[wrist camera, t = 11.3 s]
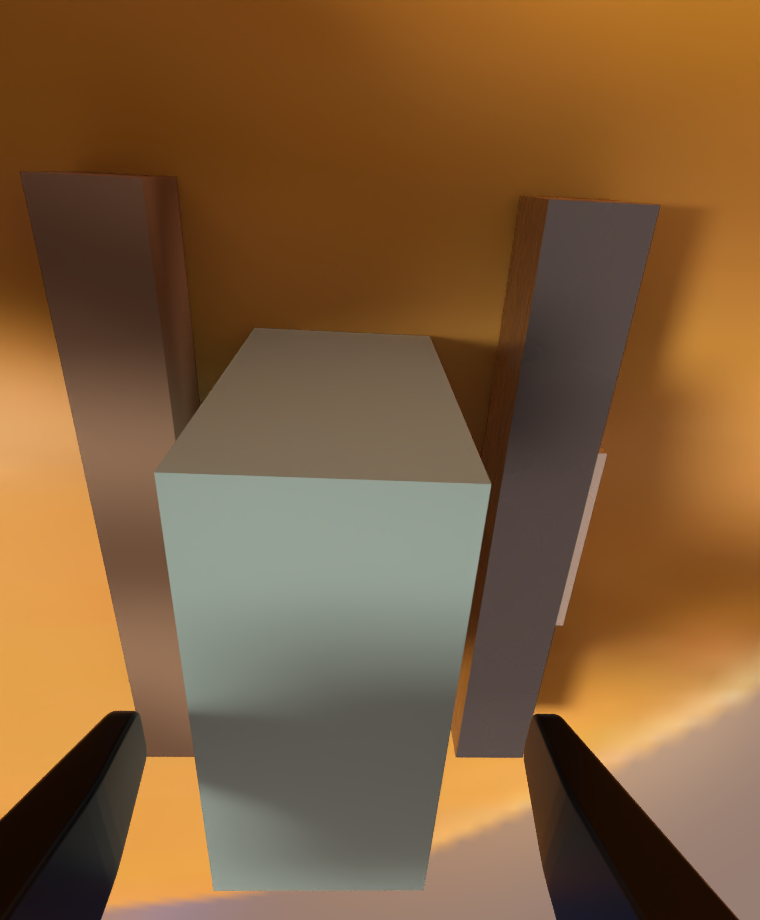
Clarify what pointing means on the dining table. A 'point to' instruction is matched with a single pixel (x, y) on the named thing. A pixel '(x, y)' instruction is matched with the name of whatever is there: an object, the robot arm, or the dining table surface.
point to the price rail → (544, 448)
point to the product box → (323, 604)
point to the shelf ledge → (125, 398)
